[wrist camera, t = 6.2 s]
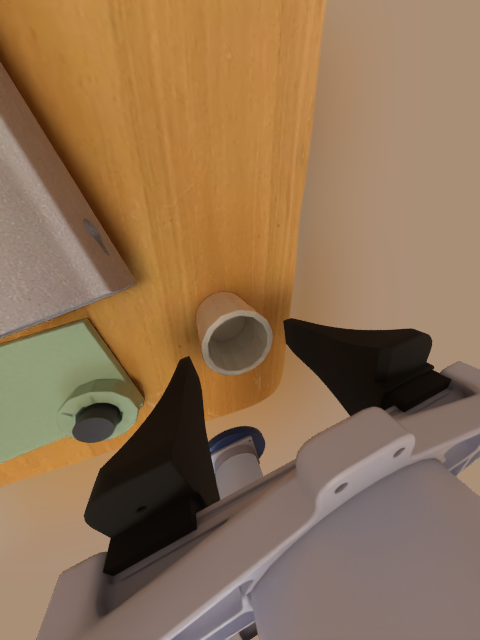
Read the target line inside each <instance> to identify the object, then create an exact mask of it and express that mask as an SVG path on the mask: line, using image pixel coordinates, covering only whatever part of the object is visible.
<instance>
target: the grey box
mask: <svg viewBox="0 0 480 640" xmlns="http://www.w3.org/2000/svg"><path fill="white" fill-rule="evenodd" d="M135 285H137V282H136V281H135V279H134V277H133V276H132V274H131V273H130V271H129V269H128V268H127V266H126V264H125V263H124V261H123V260H122V258H121V256H120V255H119V253H118V251H117V250H116V248H115V247H114V245H113V243H112V242H111V240H110V238H109V237H108V235H107V234H106V232H105V230H104V229H103V227H102V226H101V224H100V222H99V221H98V219H97V217H96V216H95V214H94V213H93V211H92V209H91V208H90V206H89V204H88V203H87V201H86V200H85V198H84V196H83V195H82V193H81V192H80V190H79V188H78V187H77V185H76V183H75V182H74V180H73V179H72V177H71V175H70V174H69V172H68V170H67V169H66V167H65V166H64V164H63V162H62V161H61V159H60V158H59V156H58V154H57V153H56V151H55V149H54V148H53V146H52V145H51V143H50V141H49V140H48V138H47V136H46V135H45V133H44V132H43V130H42V128H41V127H40V125H39V124H38V122H37V120H36V119H35V117H34V115H33V114H32V112H31V111H30V109H29V107H28V106H27V104H26V102H25V101H24V99H23V98H22V96H21V94H20V93H19V91H18V90H17V88H16V86H15V85H14V83H13V81H12V80H11V78H10V77H9V75H8V73H7V72H6V70H5V68H4V67H3V65H2V64H1V62H0V339H1V338H4V337H6V336H9V335H11V334H14V333H17V332H19V331H22V330H25V329H27V328H30V327H32V326H35V325H38V324H40V323H43V322H45V321H48V320H50V319H53V318H56V317H58V316H61V315H63V314H66V313H68V312H71V311H73V310H76V309H79V308H81V307H84V306H86V305H89V304H91V303H94V302H96V301H99V300H101V299H104V298H106V297H109V296H111V295H113V294H116V293H118V292H121V291H123V290H125V289H127V288H130V287H132V286H135Z"/></svg>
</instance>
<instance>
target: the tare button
mask: <svg viewBox="0 0 480 640" xmlns="http://www.w3.org/2000/svg"><path fill="white" fill-rule="evenodd" d="M119 416H120V411H119V409H118V408H117V407H116V406H115V405H112V404H110V403H95V404H92V405H90V406H88V407H86V408H85V409H84V410H83V412H82V413H81V415H80V417H79V418H78V420H77V422H76V424H75V425H74V427H73V429H72V434H73V436H74V438H76V439H77V440H79V441H81V442H86V443H94V442H99V441H103V440H105V439H107V438H108V437H110V436H111V435H112V434H113V432H114V430H115V427H116V424H117V421H118V419H119Z"/></svg>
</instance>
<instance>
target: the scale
mask: <svg viewBox="0 0 480 640" xmlns="http://www.w3.org/2000/svg"><path fill="white" fill-rule="evenodd" d="M95 403H110V404H112V405H115V406H116V407H117V408H118V409H119V411H120V416H119V419H118V421H117V424H116V427H115V430H114V432H113V434H112V435H111V436H110V437H108V438H107V439H105V440H110V439H112V438H114V437H117V436H119V435H121V434H124V433H126V432H127V431H128V430H129V429H130V428H131V427H132V426H133V424H134V423H135V422H136V421H137V417H138V413H139V409H140V407H141V406H143V404H144V398H143V396H142V395H141V393H140V392H139V390H138V389H137V388H136V386H135V385H134V383H133V382H132V381H131V379H130V378H129V376H128V375H127V373H126V372H125V371H124V369H123V368H122V366H121V365H120V363H119V362H118V361H117V359H116V358H115V356H114V355H113V354H112V352H111V351H110V349H109V348H108V346H107V345H106V344H105V342H104V341H103V339H102V338H101V337H100V335H99V334H98V332H97V331H96V329H95V328H94V327H93V325H92V324H91V322H90V321H89V319H88V318H85V319H82V320H79V321H75V322H72V323H69V324H65V325H62V326H59V327H55V328H52V329H49V330H45V331H42V332H39V333H35V334H32V335H29V336H25V337H22V338H19V339H15V340H12V341H9V342H5V343H2V344H0V463H3V462H5V461H8V460H10V459H13V458H15V457H18V456H20V455H23V454H25V453H27V452H30V451H32V450H35V449H37V448H40V447H42V446H45V445H47V444H50V443H52V442H55V441H57V440H59V439H62V438H64V437H67V436H69V437H70V438H74V436H73V434H72V429H73V427H74V425H75V424H76V422H77V420H78V418H79V417H80V415H81V413H82V412H83V410H84V409H85V408H86V407H88V406H90V405H92V404H95ZM75 439H76V438H75Z"/></svg>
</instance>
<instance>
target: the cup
mask: <svg viewBox="0 0 480 640" xmlns="http://www.w3.org/2000/svg"><path fill="white" fill-rule="evenodd" d="M195 319H196V327H197V333H198V338H199V342H200V347H201V352H202V357H203V360H204V361H205V362H206V363H207V365H208V366H209V367H210V368H211V370H213V371H216V372H218V373H220V374H223V375H239V374H243V373H245V372H247V371H250V370H252V369H254V368H255V367H256V366H257V365H258V364H260V363H261V362H262V361H263V360H264V359H265V358H266V356H267V354H268V352H269V350H270V348H271V346H272V335H273V333H272V330H271V327H270V325H269V323H268V321H267V319H266V318H264V317H263V316H262V315H261V314H260V313H259V312H257V311H256V310H255V309H254V308H253V307H252V306H250V305H249V304H248V303H247V302H246V301H244V300H243V299H242V298H240V297H239V296H238V295H236V294H234V293H230V292H218V293H215V294H212V295H210V296H209V297H207V298H206V299H205V300H204V301H203V302H202V303H201V304H200V306H199V307H198V310H197V313H196V318H195Z"/></svg>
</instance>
